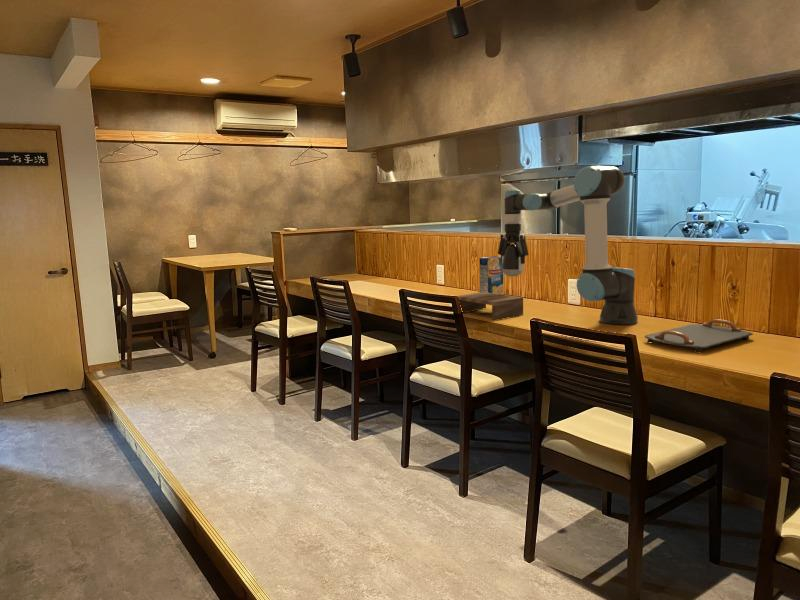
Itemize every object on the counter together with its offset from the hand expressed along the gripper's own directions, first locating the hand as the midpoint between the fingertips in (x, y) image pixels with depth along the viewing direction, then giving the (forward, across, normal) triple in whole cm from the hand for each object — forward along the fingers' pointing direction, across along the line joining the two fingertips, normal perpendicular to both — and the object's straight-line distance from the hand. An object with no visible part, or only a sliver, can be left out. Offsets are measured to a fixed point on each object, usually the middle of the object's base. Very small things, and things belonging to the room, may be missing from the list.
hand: (512, 269), depth 288 cm
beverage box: (+19, +31, -17) cm, 40 cm away
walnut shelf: (+19, -1, +17) cm, 26 cm away
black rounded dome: (+3, 0, 0) cm, 3 cm away
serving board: (+20, -91, +1) cm, 94 cm away
